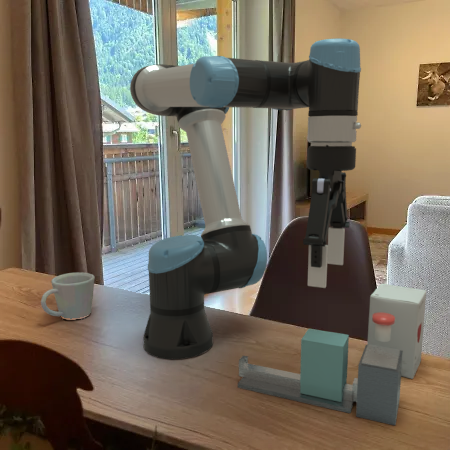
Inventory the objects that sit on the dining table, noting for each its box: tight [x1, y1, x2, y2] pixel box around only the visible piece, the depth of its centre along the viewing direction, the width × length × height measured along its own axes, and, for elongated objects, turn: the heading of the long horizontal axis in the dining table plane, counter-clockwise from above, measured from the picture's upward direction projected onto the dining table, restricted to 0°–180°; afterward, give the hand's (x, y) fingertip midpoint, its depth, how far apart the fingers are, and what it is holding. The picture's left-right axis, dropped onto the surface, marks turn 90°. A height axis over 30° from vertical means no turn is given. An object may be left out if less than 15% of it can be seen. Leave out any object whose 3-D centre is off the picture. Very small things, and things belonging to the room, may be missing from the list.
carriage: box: [299, 328, 350, 402], centre depth 80 cm, size 7×5×10 cm
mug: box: [40, 272, 95, 319], centre depth 117 cm, size 10×15×10 cm
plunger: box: [372, 312, 395, 342], centre depth 75 cm, size 3×3×4 cm
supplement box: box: [366, 283, 427, 380], centre depth 91 cm, size 9×9×15 cm
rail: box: [237, 355, 358, 414], centre depth 83 cm, size 22×7×4 cm, turn 65°
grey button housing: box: [355, 344, 403, 426], centre depth 77 cm, size 6×8×9 cm
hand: (326, 274), depth 78 cm, fingers open, 13 cm apart
